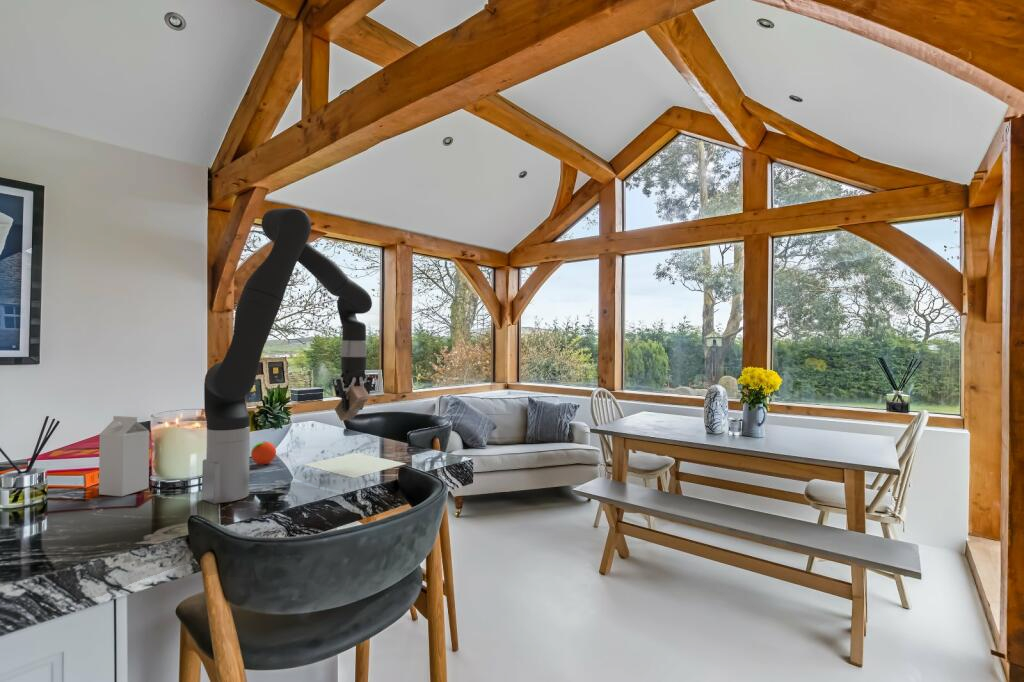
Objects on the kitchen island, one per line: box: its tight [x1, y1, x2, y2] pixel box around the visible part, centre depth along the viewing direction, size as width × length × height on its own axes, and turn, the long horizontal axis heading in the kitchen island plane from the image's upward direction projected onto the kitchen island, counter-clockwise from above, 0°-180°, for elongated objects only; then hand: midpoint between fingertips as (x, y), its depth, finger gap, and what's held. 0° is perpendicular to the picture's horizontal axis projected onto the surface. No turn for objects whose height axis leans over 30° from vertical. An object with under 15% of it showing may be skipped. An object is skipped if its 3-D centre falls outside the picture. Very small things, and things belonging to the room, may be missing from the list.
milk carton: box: [98, 415, 150, 497], centre depth 125 cm, size 7×7×19 cm
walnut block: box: [334, 386, 371, 422], centre depth 154 cm, size 4×4×11 cm
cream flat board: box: [303, 452, 407, 479], centre depth 153 cm, size 20×24×1 cm
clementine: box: [250, 441, 277, 466], centre depth 154 cm, size 8×7×7 cm
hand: (352, 410), depth 154 cm, fingers closed on walnut block, 4 cm apart
